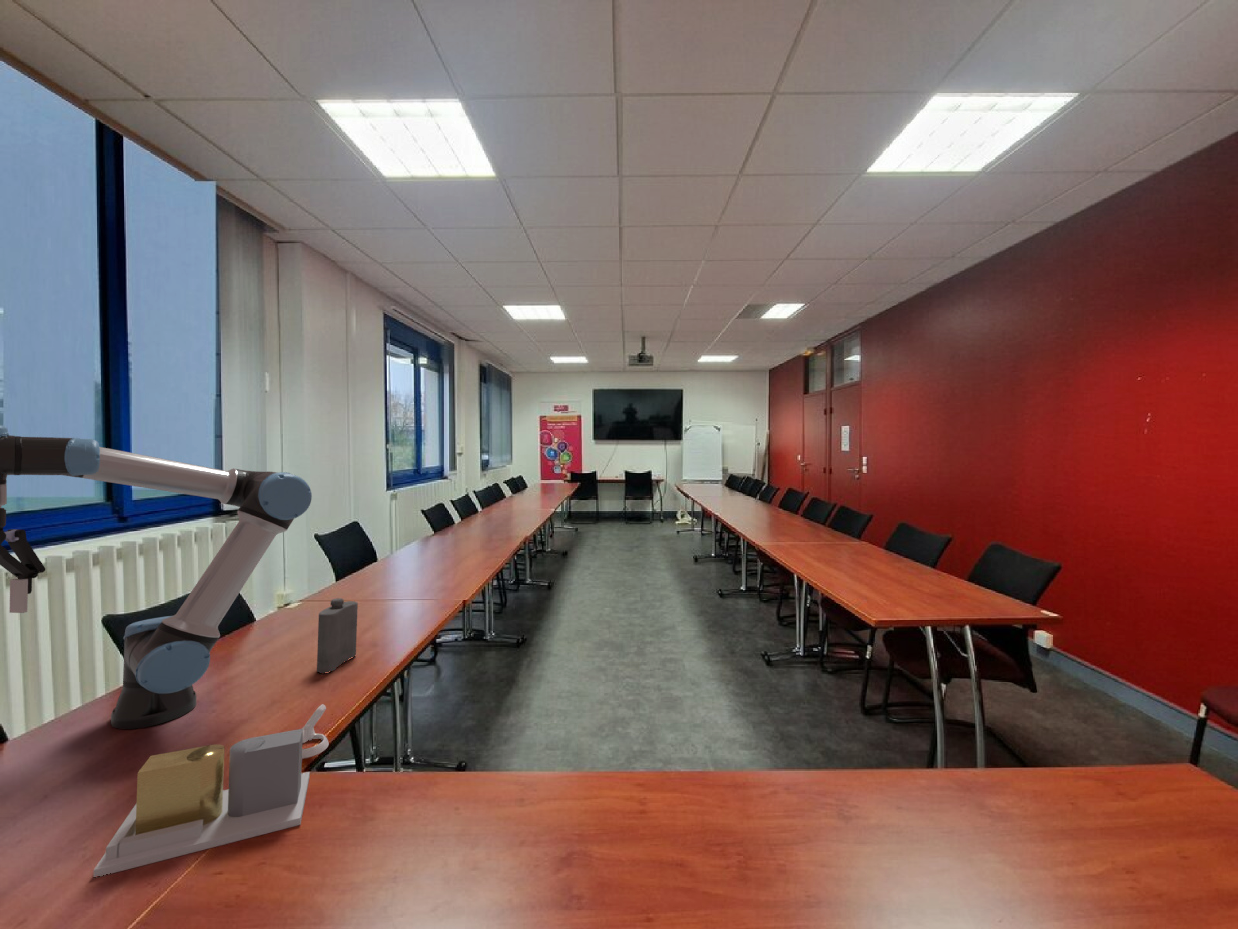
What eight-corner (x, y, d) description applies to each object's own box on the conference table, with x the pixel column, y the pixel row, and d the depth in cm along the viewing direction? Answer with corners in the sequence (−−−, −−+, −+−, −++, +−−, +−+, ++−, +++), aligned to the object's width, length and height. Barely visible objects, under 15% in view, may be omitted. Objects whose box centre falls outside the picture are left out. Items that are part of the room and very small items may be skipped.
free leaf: (135, 841, 78) (137, 772, 78) (148, 820, 83) (150, 755, 83) (217, 822, 83) (219, 757, 83) (225, 803, 87) (228, 742, 87)
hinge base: (93, 878, 72) (96, 796, 73) (134, 816, 85) (136, 746, 85) (300, 824, 84) (302, 754, 84) (309, 777, 97) (311, 716, 97)
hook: (337, 736, 102) (307, 720, 101) (306, 776, 104) (276, 761, 102) (353, 711, 110) (325, 696, 108) (324, 749, 111) (296, 734, 110)
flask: (341, 654, 158) (343, 592, 158) (359, 655, 158) (361, 593, 158) (309, 673, 143) (312, 605, 143) (328, 674, 143) (331, 606, 143)
